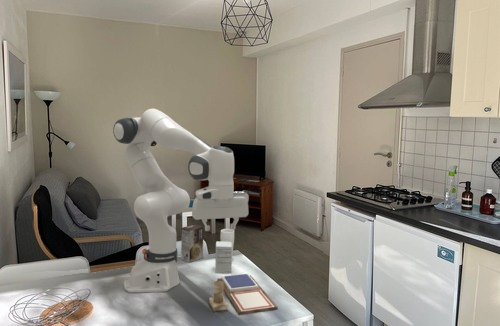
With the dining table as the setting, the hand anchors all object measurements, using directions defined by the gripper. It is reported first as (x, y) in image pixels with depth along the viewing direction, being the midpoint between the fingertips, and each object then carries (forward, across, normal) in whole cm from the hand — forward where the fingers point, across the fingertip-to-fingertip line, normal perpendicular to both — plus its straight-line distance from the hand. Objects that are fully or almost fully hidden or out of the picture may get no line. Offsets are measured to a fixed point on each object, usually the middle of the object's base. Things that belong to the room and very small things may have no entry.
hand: (220, 230), depth 138 cm
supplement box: (+29, -11, -33) cm, 46 cm away
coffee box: (+29, 0, -51) cm, 59 cm away
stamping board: (+29, -13, -8) cm, 33 cm away
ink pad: (+29, -13, -15) cm, 35 cm away
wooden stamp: (+29, 0, 0) cm, 29 cm away
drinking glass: (+29, -16, -45) cm, 56 cm away
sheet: (+29, -13, 0) cm, 32 cm away
